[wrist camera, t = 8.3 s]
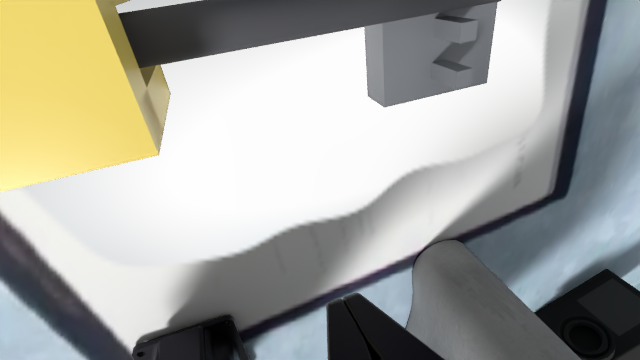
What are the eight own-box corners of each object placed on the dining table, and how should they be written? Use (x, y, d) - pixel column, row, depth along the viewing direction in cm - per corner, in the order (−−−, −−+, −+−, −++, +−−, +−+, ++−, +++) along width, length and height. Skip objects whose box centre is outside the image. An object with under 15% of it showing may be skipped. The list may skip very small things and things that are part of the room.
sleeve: (170, 93, 16) (158, 155, 10) (50, 118, 15) (-34, 200, 9) (120, -47, 13) (68, -65, 8) (-33, -28, 12) (-221, -34, 7)
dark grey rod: (459, -83, 16) (576, -110, 11) (451, 31, 19) (543, 50, 14) (-270, 9, 11) (-643, 35, 6) (-142, 150, 14) (-329, 247, 9)
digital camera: (608, 260, 37) (685, 312, 31) (606, 288, 40) (676, 340, 34) (524, 312, 37) (586, 374, 31) (529, 335, 40) (586, 396, 34)
